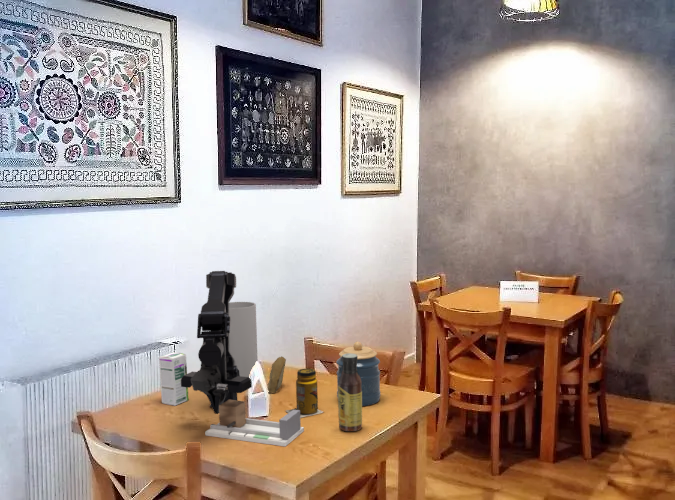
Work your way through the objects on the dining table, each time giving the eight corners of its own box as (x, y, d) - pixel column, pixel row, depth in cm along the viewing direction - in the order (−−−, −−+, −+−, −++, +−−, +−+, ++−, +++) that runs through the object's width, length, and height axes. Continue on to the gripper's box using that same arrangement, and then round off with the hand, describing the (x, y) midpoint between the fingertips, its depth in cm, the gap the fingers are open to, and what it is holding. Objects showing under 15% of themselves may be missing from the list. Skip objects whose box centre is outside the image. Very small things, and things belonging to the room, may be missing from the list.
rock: (280, 388, 202) (298, 376, 211) (264, 365, 204) (283, 354, 212) (260, 404, 208) (279, 391, 217) (245, 381, 210) (264, 369, 218)
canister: (382, 393, 203) (382, 337, 201) (377, 407, 190) (377, 347, 188) (341, 392, 205) (339, 336, 203) (333, 406, 192) (332, 346, 191)
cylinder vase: (242, 385, 214) (240, 309, 212) (212, 380, 220) (210, 306, 218) (265, 375, 225) (263, 303, 223) (236, 371, 231) (233, 300, 229)
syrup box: (175, 406, 195) (173, 358, 194) (160, 403, 198) (158, 355, 197) (188, 400, 200) (186, 353, 199) (174, 397, 203) (172, 351, 202)
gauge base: (205, 435, 171) (204, 412, 171) (227, 421, 181) (226, 399, 181) (285, 446, 163) (284, 422, 162) (303, 430, 173) (303, 408, 172)
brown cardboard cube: (213, 431, 170) (212, 409, 169) (229, 421, 178) (228, 399, 177) (230, 434, 168) (229, 411, 168) (246, 423, 176) (245, 401, 175)
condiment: (323, 412, 187) (322, 371, 186) (297, 418, 182) (296, 376, 181) (310, 405, 193) (309, 365, 192) (285, 411, 188) (283, 370, 187)
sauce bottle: (337, 424, 177) (336, 352, 175) (360, 423, 177) (359, 351, 176) (339, 433, 170) (338, 358, 169) (363, 432, 171) (362, 357, 169)
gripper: (166, 360, 170) (169, 419, 172) (229, 366, 163) (231, 427, 165) (191, 350, 181) (194, 406, 182) (251, 355, 174) (253, 413, 175)
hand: (217, 413), depth 176 cm, fingers closed
